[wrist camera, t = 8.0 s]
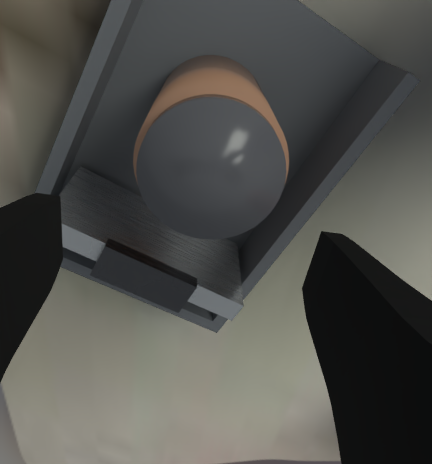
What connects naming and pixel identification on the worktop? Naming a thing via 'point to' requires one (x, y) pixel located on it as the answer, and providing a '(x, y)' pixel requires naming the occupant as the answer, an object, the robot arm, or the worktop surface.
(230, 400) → the worktop surface
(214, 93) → the jar
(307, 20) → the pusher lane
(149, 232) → the pusher plate
